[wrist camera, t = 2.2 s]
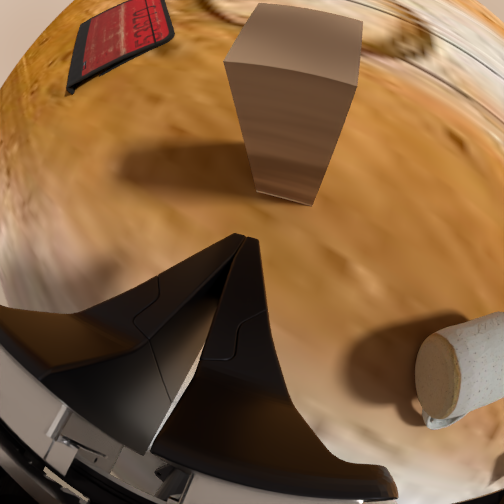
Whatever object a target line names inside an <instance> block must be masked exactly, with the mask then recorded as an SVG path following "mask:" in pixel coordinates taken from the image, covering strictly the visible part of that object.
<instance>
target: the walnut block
mask: <svg viewBox="0 0 504 504" xmlns="http://www.w3.org/2000/svg"><path fill="white" fill-rule="evenodd" d="M362 30H363V21H359V20H356V19H352V18H348V17H344V16H340V15H336V14H332V13H327V12H322V11H317V10H312V9H306V8H300V7H293V6H285V5H277V4H266V3H259V4H258V5H257V7H256V8H255V10H254V11H253V13H252V14H251V16H250V17H249V19H248V20H247V22H246V24H245V25H244V27H243V28H242V30H241V32H240V33H239V35H238V37H237V38H236V40H235V42H234V43H233V45H232V47H231V49H230V50H229V52H228V54H227V56H226V57H225V59H224V61H223V62H224V66H225V69H226V73H227V77H228V81H229V84H230V88H231V92H232V96H233V100H234V104H235V107H236V111H237V115H238V119H239V123H240V127H241V131H242V135H243V139H244V143H245V147H246V151H247V155H248V159H249V163H250V167H251V171H252V175H253V179H254V184H255V188H256V192H260V193H264V194H268V195H272V196H276V197H280V198H283V199H287V200H291V201H295V202H298V203H302V204H305V205H309V206H312V205H313V203H314V200H315V198H316V195H317V193H318V190H319V188H320V185H321V183H322V180H323V178H324V175H325V172H326V170H327V167H328V165H329V162H330V159H331V157H332V154H333V152H334V149H335V146H336V144H337V141H338V138H339V136H340V133H341V130H342V127H343V125H344V122H345V119H346V116H347V114H348V111H349V108H350V105H351V102H352V100H353V97H354V94H355V91H356V88H357V83H358V75H359V65H360V55H361V43H362Z"/></svg>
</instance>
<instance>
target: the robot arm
mask: <svg viewBox="0 0 504 504" xmlns="http://www.w3.org/2000/svg"><path fill="white" fill-rule="evenodd" d="M204 343H205V344H204ZM203 345H204V347H203V350H202V353H201V357H200V361H199V363H198V366H197V369H196V372H195V374H194V376H193V378H192V380H191V382H190V383H189V385H188V387H187V388H186V390H185V392H184V393H183V395H182V396H181V398H180V400H179V401H178V403H177V405H176V406H175V408H174V409H173V411H172V413H171V414H170V416H169V417H168V419H167V421H166V422H165V424H164V425H163V427H162V429H161V430H160V432H159V433H158V435H157V437H156V438H155V440H154V442H153V444H152V447H151V450H150V452H151V453H152V454H154V455H155V456H157V457H158V458H160V459H162V460H163V461H165V462H167V463H168V465H165V466H163V467H160V468H158V469H156V471H155V475H156V476H157V477H158V478H160V479H161V480H162V481H163V484H162V485H161V487H160V488H159V490H158V491H157V493H156V494H155V496H152V495H149V494H147V493H145V492H143V491H141V490H139V489H137V488H135V487H133V486H131V485H129V484H127V483H125V482H123V481H121V480H120V479H118V478H116V477H114V476H112V475H111V474H110V472H111V470H112V468H113V466H114V464H115V462H116V460H117V458H118V456H119V454H120V452H121V450H122V448H123V446H125V447H127V448H129V449H131V450H133V451H135V452H136V453H138V454H140V455H143V456H144V454H145V452H146V451H147V449H148V447H149V445H150V443H151V441H152V439H153V438H154V436H155V434H156V432H157V430H158V428H159V426H160V425H161V423H162V421H163V419H164V417H165V415H166V413H167V412H168V410H169V408H170V406H171V403H172V402H173V400H174V398H175V397H176V395H177V393H178V391H179V389H180V387H181V385H182V384H183V382H184V380H185V378H186V376H187V374H188V372H189V371H190V369H191V367H192V365H193V363H194V361H195V359H196V358H197V356H198V354H199V352H200V350H201V348H202V346H203ZM45 466H46V467H47V468H48V469H49V470H51V471H52V472H53V473H54V474H56V475H57V476H58V477H59V478H61V479H62V480H63V481H65V482H66V483H67V484H69V485H70V486H72V487H73V488H74V489H76V490H77V491H79V492H80V493H82V494H83V496H84V497H86V498H89V500H88V502H86V501H85V500H83V499H82V498H80V497H79V496H77V495H76V494H75V493H73V492H71V491H70V490H69V489H68V488H62V486H61V485H60V484H59V483H57V482H56V481H54V480H53V479H51V478H50V477H48V476H46V473H45V472H44V471H43V470H44V467H45ZM160 473H161V474H160ZM395 499H398V490H397V487H396V484H395V482H394V480H393V478H392V476H391V475H390V473H389V471H388V470H387V468H386V467H384V466H380V465H371V464H355V463H349V462H346V461H343V460H341V459H339V458H337V457H336V456H334V455H333V454H332V453H331V452H330V451H329V450H328V449H327V448H326V447H325V446H324V444H323V443H322V442H321V441H320V439H319V438H318V437H317V435H316V434H315V433H314V432H313V430H312V429H311V428H310V426H309V425H308V424H307V423H306V421H305V420H304V419H303V417H302V416H301V415H300V413H299V412H298V411H297V409H296V408H295V406H294V404H293V402H292V400H291V398H290V396H289V393H288V390H287V387H286V384H285V381H284V377H283V374H282V370H281V367H280V364H279V360H278V357H277V354H276V350H275V346H274V342H273V338H272V334H271V328H270V322H269V314H268V307H267V299H266V291H265V284H264V276H263V268H262V260H261V253H260V245H259V240H258V239H255V238H251V237H246V236H244V235H241V234H237V233H233V234H231V235H229V236H228V237H226V238H224V239H222V240H220V241H218V242H216V243H215V244H213V245H211V246H209V247H207V248H205V249H204V250H202V251H200V252H198V253H196V254H194V255H193V256H191V257H189V258H187V259H185V260H184V261H182V262H180V263H178V264H176V265H175V266H173V267H171V268H169V269H167V270H166V271H164V272H162V273H160V274H159V275H158V276H155V277H153V278H151V279H149V280H148V281H146V282H144V283H142V284H140V285H138V286H136V287H135V288H132V289H130V290H128V291H126V292H124V293H122V294H120V295H118V296H115V297H113V298H111V299H109V300H106V301H104V302H102V303H100V304H98V305H95V306H93V307H91V308H89V309H86V310H84V311H81V312H78V313H73V314H59V313H48V312H39V311H30V310H21V309H14V308H8V307H5V306H2V305H0V504H366V502H379V501H388V500H395ZM453 504H504V489H501V490H498V491H495V492H492V493H489V494H486V495H483V496H480V497H476V498H473V499H469V500H465V501H461V502H457V503H453Z"/></svg>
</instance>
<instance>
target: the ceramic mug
mask: <svg viewBox="0 0 504 504" xmlns="http://www.w3.org/2000/svg"><path fill="white" fill-rule="evenodd" d="M415 385H416V391H417V395H418V399H419V401H420V404H421V406H422V408H423V410H422V417H423V420H424V422H425V424H426V426H427V427H428V428H429V429H432V430H436V429H441V428H445V427H447V426H449V425H451V424H453V423H455V422H457V421H458V420H460V419H461V418H463V417H464V416H465V415H466V414H467V413H468V412H470V411H472V410H475V409H477V408H480V407H482V406H485V405H488V404H490V403H492V402H495V401H497V400H499V399H501V398H503V397H504V312H494V313H492V314H489V315H486V316H483V317H480V318H476V319H473V320H470V321H467V322H465V323H461V324H458V325H453V326H449V327H446V328H443V329H441V330H439V331H437V332H435V333H433V334H431V335H429V336H428V337H427V338H426V339H425V340H424V342H423V343H422V345H421V347H420V349H419V352H418V354H417V359H416V364H415Z"/></svg>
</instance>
